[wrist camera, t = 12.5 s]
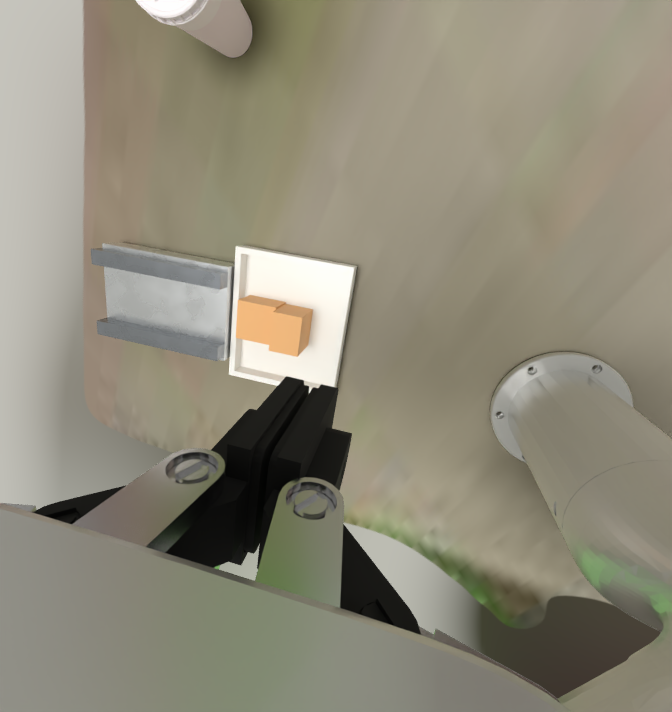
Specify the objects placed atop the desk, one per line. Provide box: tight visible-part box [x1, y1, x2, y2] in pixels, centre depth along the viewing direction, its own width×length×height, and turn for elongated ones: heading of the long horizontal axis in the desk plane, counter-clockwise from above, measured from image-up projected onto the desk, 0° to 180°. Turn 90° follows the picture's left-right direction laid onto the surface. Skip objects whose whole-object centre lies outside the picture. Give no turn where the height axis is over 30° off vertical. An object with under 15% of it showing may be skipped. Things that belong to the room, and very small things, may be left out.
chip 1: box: [236, 295, 286, 345], centre depth 38 cm, size 4×4×3 cm
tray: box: [229, 245, 357, 393], centre depth 39 cm, size 12×14×2 cm
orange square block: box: [269, 304, 313, 357], centre depth 37 cm, size 4×4×3 cm
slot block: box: [91, 242, 235, 361], centre depth 39 cm, size 14×10×4 cm
